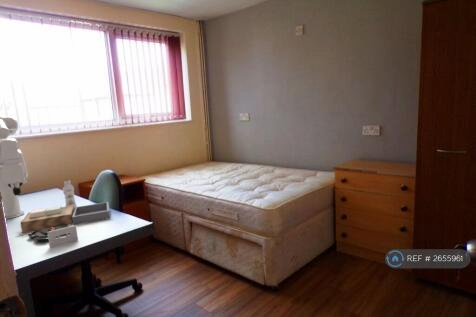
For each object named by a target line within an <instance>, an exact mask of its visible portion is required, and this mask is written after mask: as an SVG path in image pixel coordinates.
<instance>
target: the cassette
mask: <svg viewBox="0 0 476 317" xmlns="http://www.w3.org/2000/svg"><path fill="white" fill-rule="evenodd" d="M47 233H48V239H49V241H48V246H49V248H50V249H51V248H57V247H60V246H64V245H68V244H71V243H75V242H78V241H79V236H78V231H77V226H76V224H75V225H69V227H66V228H61V229H57V230H53V231H49V232H47ZM69 233H70V234H69ZM63 234H66V235H65V236H61V237H60V236H59V235H63ZM56 236H58V238H56Z"/></svg>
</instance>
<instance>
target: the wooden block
mask: <svg viewBox="0 0 476 317" xmlns="http://www.w3.org/2000/svg"><path fill="white" fill-rule="evenodd" d="M61 208H62V210H61V212H60V213H57V214H51V215H45V216H39V217H33V218H31V217H30V213H31V211H30V212H28V213H27V214H26V215H25V216H24V218H23V219H22V220H21V221H20V228H21V233H22V234H27V233H32V231H33V232H34V231H37V230H41V229H45V228H47V227H51V226H55V225H59V224H67V225H69V226H73V220H72V216H73V213H74V210H75V209H74V205H73V206H67V207H65V206H61ZM26 232H27V233H26Z"/></svg>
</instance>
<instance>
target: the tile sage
mask: <svg viewBox="0 0 476 317" xmlns="http://www.w3.org/2000/svg"><path fill="white" fill-rule="evenodd" d="M61 207H62V205H57V206H51V207H46V208H47V209H46V215H51V214H57V213H60V212H61V210H62V208H61Z"/></svg>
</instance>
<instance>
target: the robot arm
mask: <svg viewBox="0 0 476 317" xmlns="http://www.w3.org/2000/svg"><path fill="white" fill-rule="evenodd" d="M18 128H19V124H18V120H17V119H16V118H15V117H14V116H0V192H1V196H2V202H3V207H4V213H5V218H6V219H5V220H7V219H14V218H19V217H21V216H23V215H24V214H25V211H23V210H21V203H20V199H19V198H20V197H19V196H20V195H21V193H22V191H21V187H22V186H23V185H24V184H27V183H28V180H27V178H28V176H29V173H28V169H27V168H28V167H27V165H26V161H25V160H26V159H25V157H24V153H23V152H22V151H21V150H20V149H19V148H20V144H19V141H18V140H17V139H16V138H12V137H11V138H9V136H12V135H15V134H16V133H17V131H18ZM15 184H16V185H15Z"/></svg>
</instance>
